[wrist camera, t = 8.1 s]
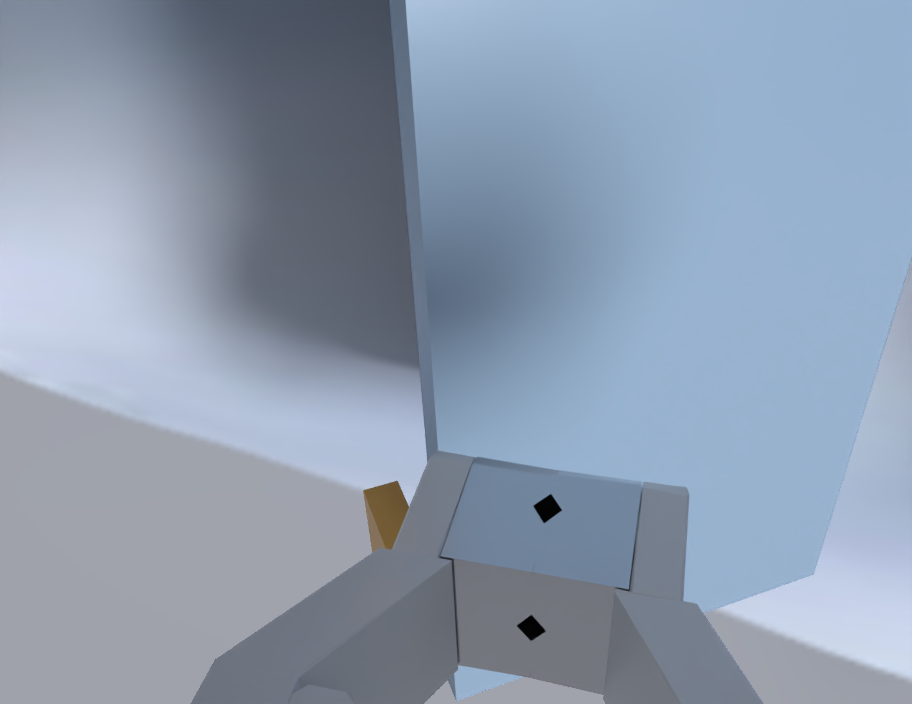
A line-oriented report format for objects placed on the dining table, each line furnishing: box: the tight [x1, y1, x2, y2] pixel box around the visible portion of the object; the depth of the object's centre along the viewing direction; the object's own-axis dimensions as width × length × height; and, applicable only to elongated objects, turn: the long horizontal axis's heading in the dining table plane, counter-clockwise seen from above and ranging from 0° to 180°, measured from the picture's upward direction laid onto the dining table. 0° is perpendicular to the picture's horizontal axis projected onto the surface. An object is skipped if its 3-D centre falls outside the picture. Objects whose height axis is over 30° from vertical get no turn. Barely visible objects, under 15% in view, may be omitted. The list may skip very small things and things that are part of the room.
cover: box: [363, 0, 912, 701], centre depth 16 cm, size 22×11×3 cm
